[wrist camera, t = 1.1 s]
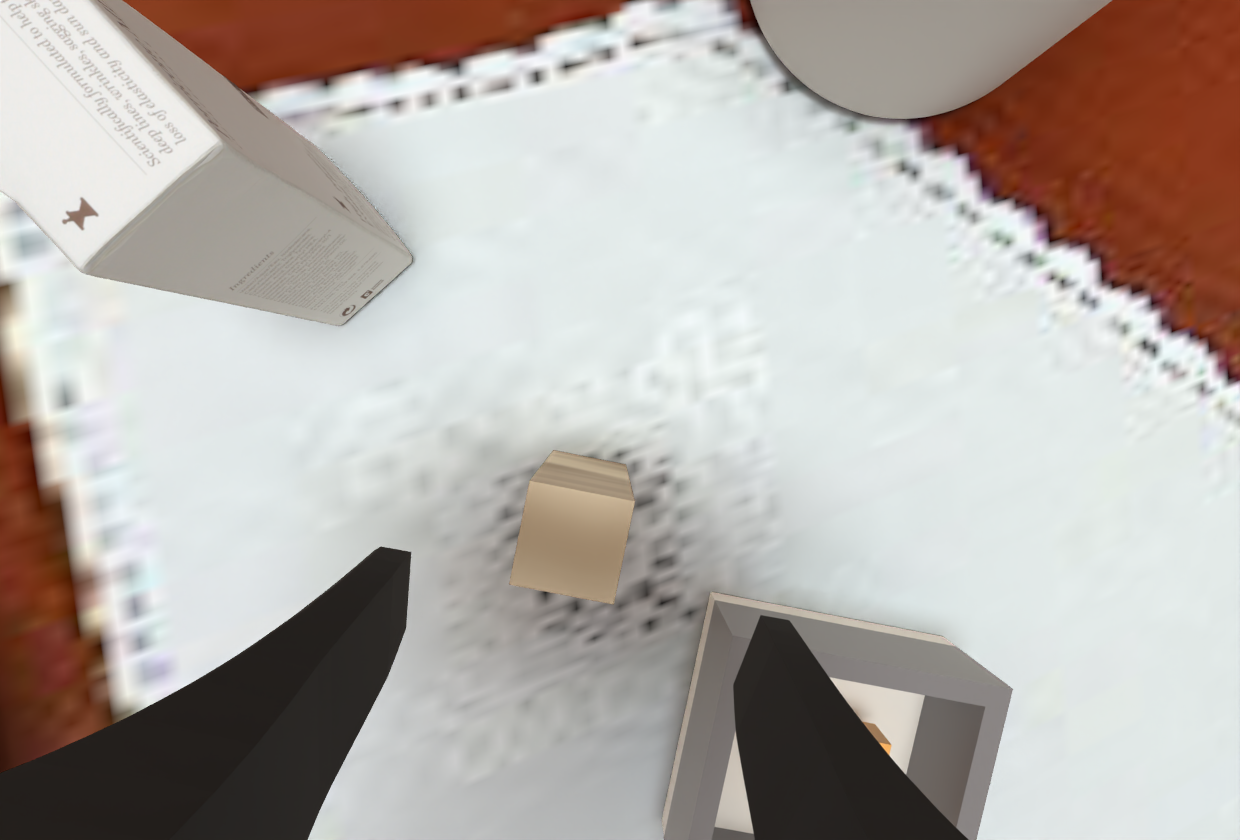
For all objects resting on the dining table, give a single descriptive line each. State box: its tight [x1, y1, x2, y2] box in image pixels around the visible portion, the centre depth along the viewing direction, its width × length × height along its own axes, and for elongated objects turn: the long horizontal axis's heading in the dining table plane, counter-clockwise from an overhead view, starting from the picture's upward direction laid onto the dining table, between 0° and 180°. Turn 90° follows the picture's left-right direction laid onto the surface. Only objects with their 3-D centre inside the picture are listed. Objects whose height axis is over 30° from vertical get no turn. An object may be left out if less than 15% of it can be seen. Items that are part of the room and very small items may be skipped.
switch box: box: [662, 592, 1013, 840], centre depth 24 cm, size 10×10×4 cm
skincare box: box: [0, 0, 412, 326], centre depth 19 cm, size 6×4×12 cm
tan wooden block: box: [509, 450, 635, 605], centre depth 21 cm, size 3×3×8 cm
